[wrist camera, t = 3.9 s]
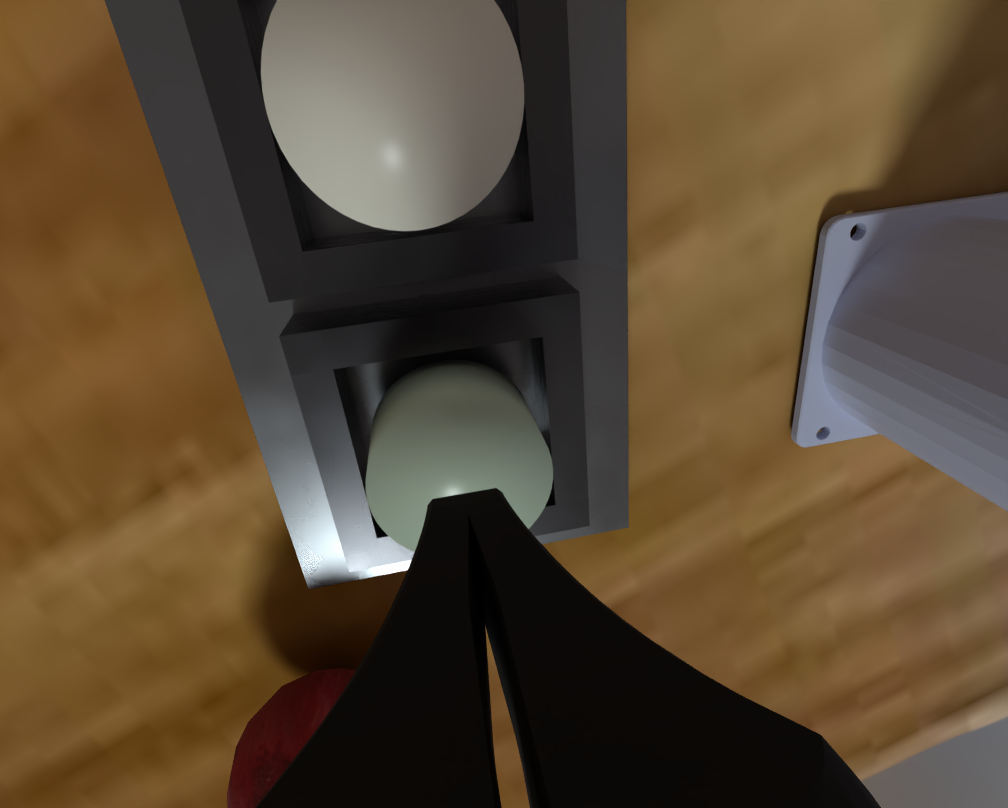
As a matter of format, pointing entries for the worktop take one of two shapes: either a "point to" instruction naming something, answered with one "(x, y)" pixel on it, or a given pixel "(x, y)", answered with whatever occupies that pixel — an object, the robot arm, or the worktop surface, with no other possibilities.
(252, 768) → the onion
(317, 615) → the worktop surface
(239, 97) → the tray
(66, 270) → the worktop surface
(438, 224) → the button cream
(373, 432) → the button sage
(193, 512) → the worktop surface
